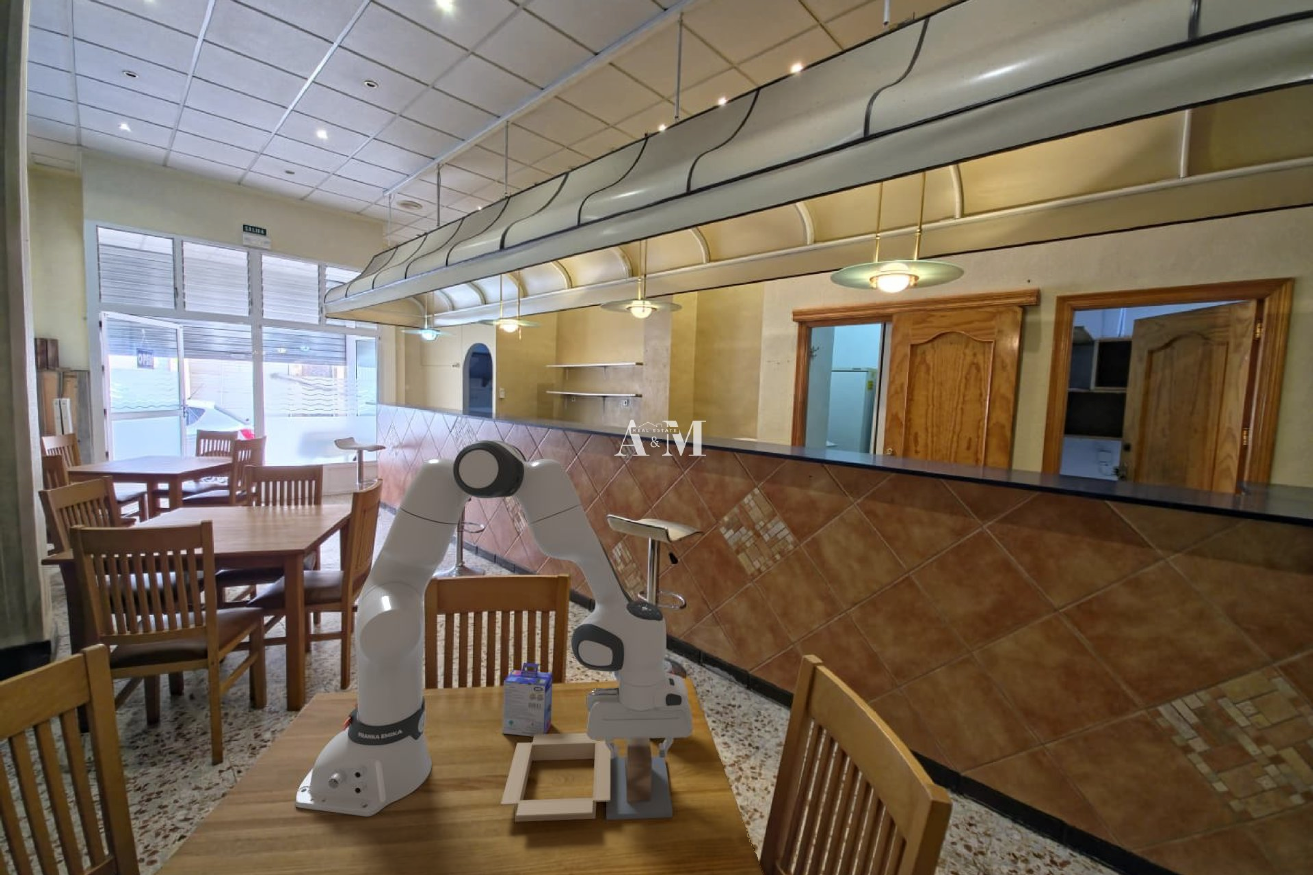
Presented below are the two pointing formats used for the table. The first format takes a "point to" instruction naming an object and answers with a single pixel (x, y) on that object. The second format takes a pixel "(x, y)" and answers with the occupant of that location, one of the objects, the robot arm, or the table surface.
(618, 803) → the mat
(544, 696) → the ink cartridge box
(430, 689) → the table surface
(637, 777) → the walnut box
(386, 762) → the robot arm
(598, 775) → the beige hollow square frame
